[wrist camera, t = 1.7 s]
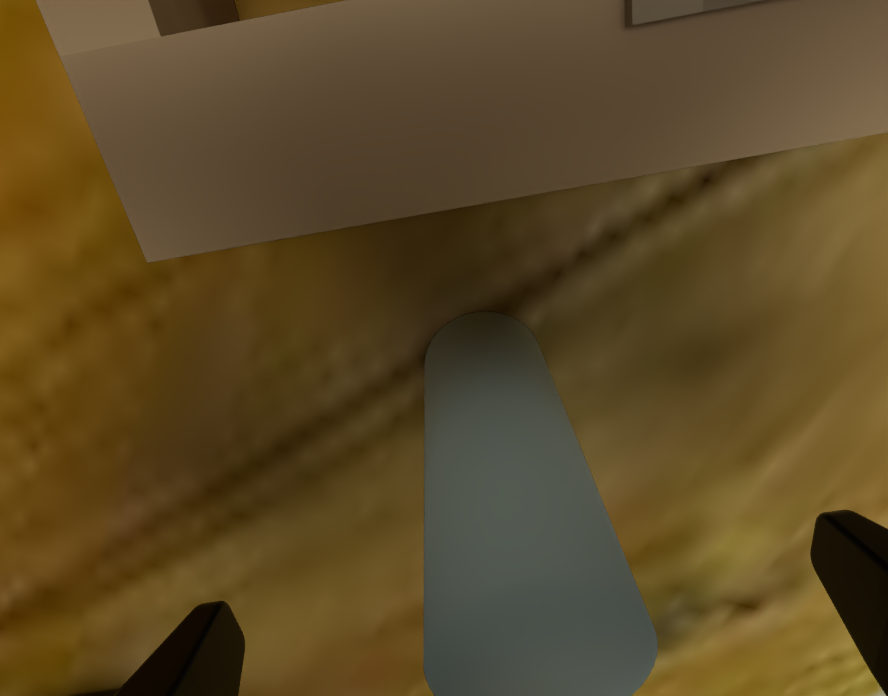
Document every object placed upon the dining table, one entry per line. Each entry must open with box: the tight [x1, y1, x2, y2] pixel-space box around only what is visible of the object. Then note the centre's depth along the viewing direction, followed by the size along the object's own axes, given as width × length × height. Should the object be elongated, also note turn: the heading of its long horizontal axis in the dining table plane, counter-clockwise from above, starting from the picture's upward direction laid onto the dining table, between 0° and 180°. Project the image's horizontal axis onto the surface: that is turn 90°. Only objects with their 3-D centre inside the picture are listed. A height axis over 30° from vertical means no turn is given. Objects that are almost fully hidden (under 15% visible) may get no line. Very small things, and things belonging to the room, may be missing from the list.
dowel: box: [424, 312, 658, 696], centre depth 11 cm, size 3×3×8 cm
